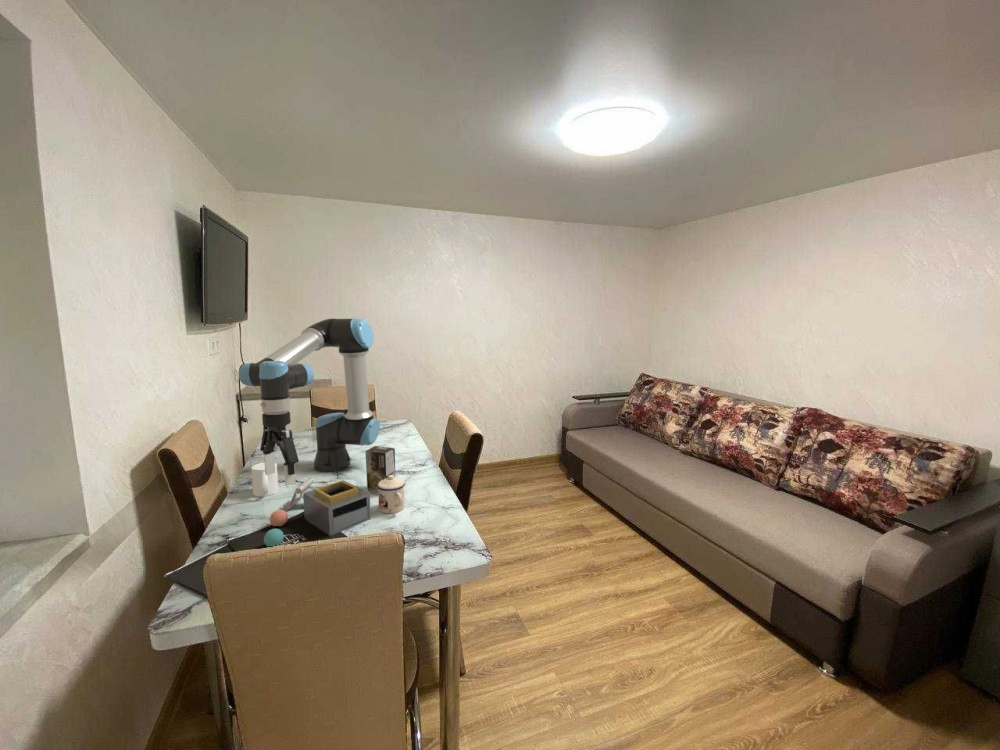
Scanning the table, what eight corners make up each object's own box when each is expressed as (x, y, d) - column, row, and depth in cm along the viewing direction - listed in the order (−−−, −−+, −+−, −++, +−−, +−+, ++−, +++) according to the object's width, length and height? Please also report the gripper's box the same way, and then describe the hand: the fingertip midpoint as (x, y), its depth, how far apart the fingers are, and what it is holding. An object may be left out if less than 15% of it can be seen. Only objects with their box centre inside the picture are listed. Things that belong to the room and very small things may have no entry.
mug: (276, 460, 158) (277, 470, 148) (278, 486, 160) (279, 498, 149) (251, 464, 154) (250, 474, 144) (253, 490, 156) (252, 502, 145)
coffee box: (396, 488, 159) (395, 448, 157) (386, 495, 153) (385, 453, 151) (376, 485, 162) (375, 445, 160) (366, 491, 156) (364, 450, 154)
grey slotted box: (304, 519, 134) (302, 488, 132) (344, 504, 144) (343, 476, 143) (330, 536, 124) (328, 503, 122) (370, 519, 134) (369, 488, 133)
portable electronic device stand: (296, 499, 148) (295, 477, 147) (317, 500, 148) (316, 478, 147) (283, 511, 140) (281, 487, 138) (306, 511, 139) (304, 488, 138)
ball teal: (261, 546, 118) (260, 530, 117) (279, 539, 122) (278, 523, 121) (268, 553, 115) (267, 536, 114) (287, 545, 118) (286, 529, 118)
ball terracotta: (267, 526, 129) (266, 511, 129) (284, 520, 133) (283, 505, 132) (274, 531, 126) (273, 516, 125) (291, 525, 130) (290, 510, 129)
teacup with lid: (373, 507, 143) (372, 474, 142) (398, 500, 149) (397, 469, 147) (388, 520, 134) (387, 486, 132) (413, 512, 140) (413, 479, 138)
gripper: (245, 408, 130) (250, 472, 133) (282, 420, 115) (286, 493, 117) (270, 404, 136) (274, 466, 139) (308, 416, 121) (312, 485, 123)
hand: (280, 479), depth 128 cm, fingers open, 13 cm apart
